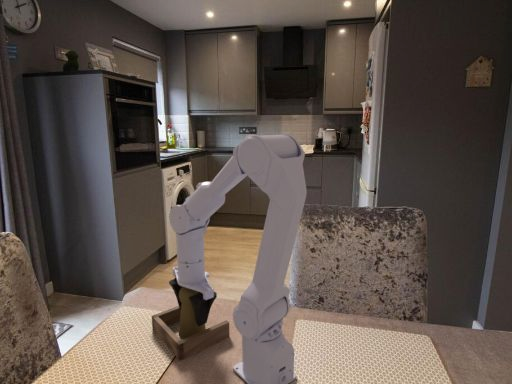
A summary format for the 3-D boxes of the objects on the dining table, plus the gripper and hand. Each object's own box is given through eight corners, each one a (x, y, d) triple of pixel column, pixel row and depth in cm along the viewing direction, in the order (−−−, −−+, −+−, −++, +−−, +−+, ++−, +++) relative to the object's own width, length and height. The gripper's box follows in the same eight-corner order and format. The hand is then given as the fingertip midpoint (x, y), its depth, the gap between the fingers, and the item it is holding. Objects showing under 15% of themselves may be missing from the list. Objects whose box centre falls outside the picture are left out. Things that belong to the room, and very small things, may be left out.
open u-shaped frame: (229, 336, 74) (229, 322, 73) (179, 360, 66) (178, 344, 65) (199, 311, 83) (198, 298, 83) (152, 329, 76) (151, 315, 75)
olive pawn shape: (208, 325, 78) (207, 281, 75) (202, 341, 72) (200, 294, 70) (183, 323, 78) (181, 279, 76) (174, 340, 72) (172, 293, 70)
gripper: (225, 264, 69) (226, 324, 71) (190, 244, 80) (192, 297, 82) (195, 273, 64) (197, 337, 67) (162, 251, 75) (165, 306, 78)
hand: (193, 315), depth 74 cm, fingers open, 7 cm apart
